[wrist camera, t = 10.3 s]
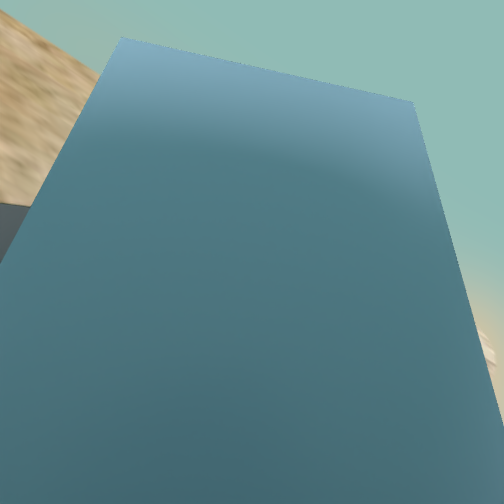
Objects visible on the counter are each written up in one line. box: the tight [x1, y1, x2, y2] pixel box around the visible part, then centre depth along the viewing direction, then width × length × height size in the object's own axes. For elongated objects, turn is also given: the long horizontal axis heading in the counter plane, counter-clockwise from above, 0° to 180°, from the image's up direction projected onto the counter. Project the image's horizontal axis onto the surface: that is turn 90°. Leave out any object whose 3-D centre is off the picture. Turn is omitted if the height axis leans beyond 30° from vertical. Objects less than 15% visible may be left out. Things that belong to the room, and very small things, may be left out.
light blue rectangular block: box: [0, 37, 504, 504], centre depth 10 cm, size 10×7×12 cm
